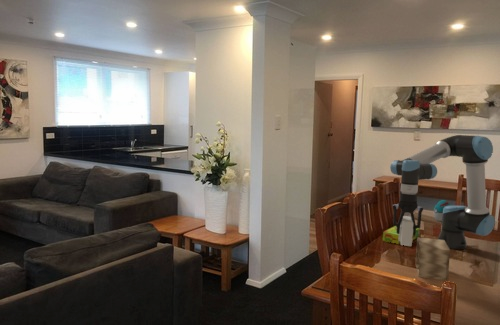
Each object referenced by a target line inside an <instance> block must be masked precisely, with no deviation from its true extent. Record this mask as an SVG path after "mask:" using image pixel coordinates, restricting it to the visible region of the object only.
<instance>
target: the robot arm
mask: <svg viewBox="0 0 500 325" xmlns="http://www.w3.org/2000/svg"><path fill="white" fill-rule="evenodd" d="M493 153H494V146H493V142H492V141H491V139H490V138H488V137H486V136H482V135H466V134H465V135H462V134H457V135H456V134H455V135H452V136H448V137H445V138H443V139H441V140H439V141H436V143H435V144H434V145H432V146H430V147H428V148H426V149H424V150H421V151H419V152H417V153H416V154H413V155H412V156H409V157H407V158H405V159H402V160H401V159H400V160H399V159H398V160H397V159H395V160H393V161H392V162H391V164H390V171H391V173H392V174H393V175H396V176H398V177H399V176H400V177H401V181H400V190H399V191H400V193H399V202H398V203H397V204H392V208H393V220H392V221H393V222H392V225H393V227H394V226H396V227H397V234H399V241H401V227H400V225H401V222H402V219H403V216H405V213H408V214H410V217H411V219H412V221H413V223H414V226H413V233H412V235H414V236H415V234H416V229H417V228H420V229H421V223H422V215H423V214H422V213H423V211H424V207H423V206H419V205H418V191H419V190H418V189H419V180H420V181H421V180H431V179H434V178H436V177H437V175H438V168H437V166H436V165H435V164H433V163H434V162H436V161H437V160H440V159H446V158H448V157H459V158H462V163H463V164H464V165H465V175H466V177H465V178H466V193H467V194H466V199H467V206H466V205H458V204H457V205H450V206H445V207H444V208H443V213H442V214H443V217H442V222H441V231H440V232H439V235H438V238H437V239H439V240H445V242H446V244H447V246H448V247H449V249H450V250H451V249H452V250H464V249H467V240H466V236H465V232H468V233H472V234H473V235H474V234H475V235H477V236H488V235H489V234H491V232H492V231H493V230H494V227H495V225H496V224H495V223H496V218H495V216H493V215H492V214H490V208H488V207H487V202H486V201H487V199H486V198H487V195H486V193H487V192H486V166H485V165H486V164H487V163H488V161H489V159H491V158H492V155H493ZM399 208H400V210H401V212H400V215H399V219H398V221H397V212H398V209H399ZM415 210H417V211H418V212H417V223H416V219H415V214H414V211H415ZM413 241H414V240H413V239H412V242H413Z"/></svg>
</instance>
